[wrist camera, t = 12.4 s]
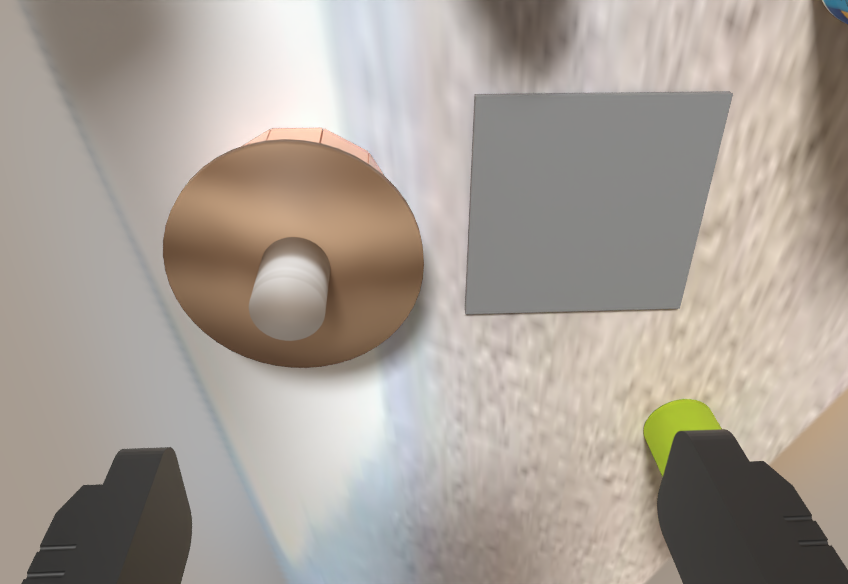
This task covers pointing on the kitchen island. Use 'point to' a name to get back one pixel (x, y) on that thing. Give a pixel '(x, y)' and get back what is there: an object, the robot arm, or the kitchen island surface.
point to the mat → (588, 198)
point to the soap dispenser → (675, 426)
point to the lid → (293, 253)
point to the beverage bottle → (838, 9)
